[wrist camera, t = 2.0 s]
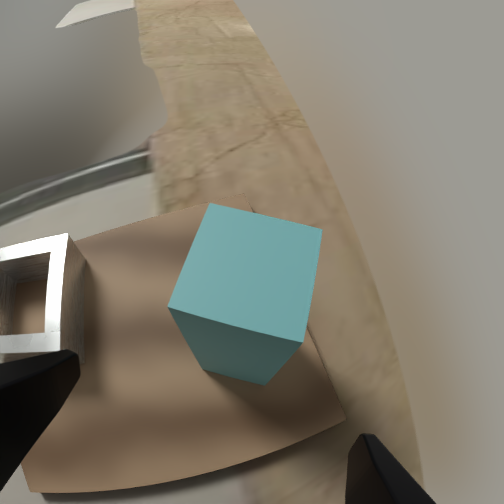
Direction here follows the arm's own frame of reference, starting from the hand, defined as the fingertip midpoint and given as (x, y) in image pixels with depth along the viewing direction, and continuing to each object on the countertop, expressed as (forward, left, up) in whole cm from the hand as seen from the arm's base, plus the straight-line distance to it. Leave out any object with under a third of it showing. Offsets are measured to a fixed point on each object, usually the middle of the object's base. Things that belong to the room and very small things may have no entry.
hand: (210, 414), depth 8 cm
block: (+4, -3, -10) cm, 11 cm away
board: (+6, +4, -11) cm, 14 cm away
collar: (+10, +11, -10) cm, 18 cm away
